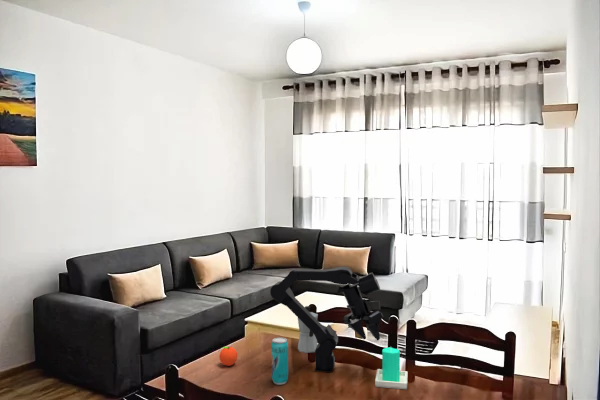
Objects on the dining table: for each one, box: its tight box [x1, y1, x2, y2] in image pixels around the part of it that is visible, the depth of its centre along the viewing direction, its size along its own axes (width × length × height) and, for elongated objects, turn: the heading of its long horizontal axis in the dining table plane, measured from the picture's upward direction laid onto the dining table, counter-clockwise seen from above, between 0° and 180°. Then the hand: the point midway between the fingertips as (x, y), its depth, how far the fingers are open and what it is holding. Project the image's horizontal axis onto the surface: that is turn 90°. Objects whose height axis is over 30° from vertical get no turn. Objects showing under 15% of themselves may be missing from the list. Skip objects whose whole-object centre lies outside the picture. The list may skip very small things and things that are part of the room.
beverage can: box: [271, 337, 289, 386], centre depth 170 cm, size 6×6×15 cm
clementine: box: [218, 346, 239, 367], centre depth 186 cm, size 8×7×7 cm
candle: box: [381, 346, 401, 382], centre depth 169 cm, size 6×6×12 cm
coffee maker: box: [297, 305, 319, 354], centre depth 201 cm, size 15×9×18 cm, turn 14°
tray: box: [374, 368, 409, 390], centre depth 169 cm, size 11×11×2 cm
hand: (371, 339), depth 178 cm, fingers open, 9 cm apart
